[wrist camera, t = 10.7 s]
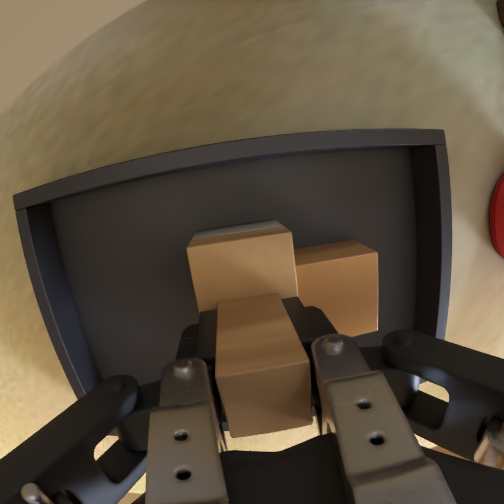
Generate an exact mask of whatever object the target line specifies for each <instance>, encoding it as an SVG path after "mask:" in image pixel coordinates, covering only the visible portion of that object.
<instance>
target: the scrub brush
mask: <svg viewBox="0 0 504 504" xmlns="http://www.w3.org/2000/svg"><path fill="white" fill-rule="evenodd" d="M186 250H187V255H188V260H189V266H190V271H191V276H192V281H193V286H194V290H195V295H196V300H197V305H198V309H199V314H200V312H201V311H207V310H214V309H217V333H216V356H215V380H216V384H217V387H218V391H219V395H220V399H221V403H222V406H223V410H224V414H225V417H226V421H227V425H228V428H229V432H230V435H231V437H232V438H237V437H244V436H252V435H258V434H265V433H271V432H277V431H282V430H287V429H293V428H297V427H302V426H307V425H311V424H312V423H313V411H312V389H311V371H310V360H309V358H308V356H307V354H306V352H305V350H304V347H303V345H302V343H301V341H300V339H299V337H298V335H297V333H296V330H295V328H294V326H293V324H292V322H291V320H290V318H289V316H288V313H287V311H286V309H285V307H284V305H283V303H282V301H281V299H284V298H290V297H296V296H298V287H297V276H296V267H295V257H294V248H293V239H292V232H291V231H289V230H288V229H287V228H286V227H284V226H283V225H282V224H281V223H279V222H278V221H277V220H272V221H265V222H259V223H252V224H245V225H239V226H232V227H226V228H219V229H213V230H207V231H200V232H196V233H195V234H194V236H193V237H192V239H191V241H190V243H189V245H188V246H187V249H186Z"/></svg>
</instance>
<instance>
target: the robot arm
mask: <svg viewBox="0 0 504 504" xmlns="http://www.w3.org/2000/svg"><path fill="white" fill-rule="evenodd" d="M281 301H282V303H283V305H284V307H285V309H286V311H287V313H288V316H289V318H290V320H291V322H292V324H293V326H294V328H295V330H296V333H297V335H298V337H299V339H300V341H301V343H302V345H303V347H304V350H305V352H306V354H307V356H308V358H309V360H310V371H311V389H312V398H313V400H314V413H315V418H316V424H317V429H318V435H319V436H316V437H314V438H312V439H309V440H307V441H305V442H302V443H300V444H297V445H295V446H292V447H290V448H287V449H285V450H282V451H278V452H258V451H239V450H232V451H228V447H227V442H226V437H225V433H224V428H223V425H222V413H224V410H223V406H222V403H221V399H220V395H219V391H218V387H217V384H216V380H215V356H216V333H217V309H214V310H207V311H201V312H200V317H199V323H198V324H193V325H189V326H188V327H187V328H186V329H185V330H184V331H183V332H182V335H181V340H180V343H179V347H178V351H177V355H176V359H175V361H172V362H171V363H169V364H167V365H166V366H165V367H164V369H163V370H162V376H161V379H160V380H158V381H155V382H152V383H149V384H145V385H141V386H139V385H138V382H137V380H136V379H135V378H134V377H133V376H130V375H115V376H112V377H109V378H107V379H105V380H103V381H102V382H101V383H99V384H98V385H97V386H95V387H94V388H93V389H92V390H90V391H89V392H88V393H86V394H85V395H84V396H83V397H81V398H80V399H79V400H77V401H76V402H75V403H74V404H72V405H71V406H70V407H68V408H67V409H66V410H64V411H63V412H62V413H61V414H59V415H58V416H57V417H55V418H54V419H53V420H51V421H50V422H49V423H48V424H46V425H45V426H44V427H42V428H41V429H40V430H38V431H37V432H36V433H35V434H33V435H32V436H31V437H29V438H28V439H27V440H25V441H24V442H23V443H21V444H20V445H19V446H18V447H16V448H15V449H14V450H12V451H11V452H10V453H8V454H7V455H6V456H4V457H3V458H2V459H0V504H117V503H118V502H119V501H120V500H121V499H122V498H123V497H124V496H125V495H126V493H127V492H128V491H129V490H130V489H131V488H132V487H133V486H134V485H135V484H136V482H137V481H138V480H139V479H140V478H141V477H142V476H143V475H144V473H145V472H146V492H145V493H143V494H142V495H141V496H140V497H139V498H138V499H136V500H135V501H134V502H133V503H132V504H504V359H502V358H499V357H495V356H492V355H489V354H486V353H482V352H479V351H476V350H473V349H470V348H466V347H463V346H460V345H457V344H454V343H451V342H448V341H445V340H441V339H438V338H435V337H432V336H429V335H426V334H423V333H420V332H417V331H413V330H407V329H402V330H395V331H392V332H390V333H388V334H386V335H385V336H384V338H383V341H382V346H377V347H358V345H357V343H356V341H355V340H354V339H353V338H352V337H350V336H348V335H344V334H339V333H338V332H337V330H336V329H335V327H334V326H333V325H332V323H331V322H329V319H328V318H327V317H326V315H325V314H324V312H323V311H322V310H321V309H319V308H317V307H315V306H313V305H312V306H307V307H304V305H303V304H302V302H301V301H300V299H299V297H298V296H296V297H290V298H284V299H281ZM420 378H422V379H425V380H427V381H429V382H432V383H434V384H437V385H439V386H442V387H443V388H445V389H446V390H447V392H448V394H449V403H448V402H445V401H443V400H441V399H438V398H436V397H434V396H431V395H429V394H427V393H424V392H422V391H420V390H418V388H419V383H420ZM113 429H114V430H115V432H116V434H117V436H118V438H119V439H118V440H117V441H116V442H115V443H114V444H113V445H112V446H111V447H110V448H109V449H108V450H107V451H106V452H105V453H104V454H103V455H102V456H100V457H99V458H98V459H97V460H95V459H94V449H95V447H96V445H97V444H98V443H99V442H100V441H101V440H103V439H104V438H105V437H106V436H107V435H108V434H109V433H110V432H111V431H112V430H113ZM414 434H416V435H418V436H420V437H422V438H424V439H426V440H428V441H430V442H432V443H434V444H436V445H438V446H440V447H442V448H445V449H447V450H449V451H451V452H453V453H455V454H458V455H460V456H462V457H464V458H466V459H468V460H471V461H468V460H465V459H461V458H458V457H454V456H451V455H448V454H444V453H441V452H438V451H435V450H432V449H429V448H426V447H423V446H420V445H419V443H418V441H417V439H416V437H415V435H414ZM472 461H473V462H472Z"/></svg>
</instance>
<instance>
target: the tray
mask: <svg viewBox="0 0 504 504" xmlns="http://www.w3.org/2000/svg"><path fill="white" fill-rule="evenodd" d="M13 201H14V207H15V211H16V218H17V223H18V229H19V234H20V238H21V243H22V247H23V252H24V256H25V260H26V264H27V268H28V271H29V275H30V279H31V282H32V286H33V289H34V292H35V296H36V299H37V302H38V305H39V308H40V311H41V314H42V317H43V320H44V323H45V325H46V328H47V331H48V333H49V336H50V339H51V341H52V344H53V346H54V349H55V351H56V354H57V356H58V358H59V361H60V363H61V365H62V367H63V370H64V372H65V374H66V376H67V378H68V381H69V383H70V385H71V387H72V389H73V391H74V393H75V395H76V397H77V399H78V400H79V399H80V398H81V397H83V396H84V395H85V394H86V393H88V392H89V391H90V390H92V389H93V388H94V387H95V386H97V385H98V384H99V383H101V382H102V381H103V380H105V379H107V378H109V377H112V376H115V375H130V376H133V377H134V378H135V379H136V380H137V382H138V385H139V386H141V385H145V384H149V383H152V382H155V381H158V380H160V379H161V376H162V370H163V369H164V367H165V366H166V365H167V364H169V363H171V362H172V361H175V359H176V355H177V351H178V347H179V343H180V340H181V335H182V332H183V331H184V330H185V329H186V328H187V327H188V326H189V325H193V324H198V323H199V317H200V314H199V309H198V305H197V300H196V295H195V290H194V286H193V281H192V276H191V271H190V266H189V260H188V255H187V250H186V249H187V246H188V245H189V243H190V241H191V239H192V237H193V236H194V234H195V233H196V232H200V231H207V230H213V229H219V228H226V227H232V226H239V225H245V224H252V223H259V222H265V221H272V220H277V221H278V222H279V223H281V224H282V225H283V226H284V227H286V228H287V229H288V230H289V231H291V232H292V239H293V248H294V249H296V248H303V247H309V246H315V245H322V244H328V243H335V242H341V241H347V240H355V241H357V242H359V243H361V244H363V245H365V246H366V247H368V248H370V249H372V250H374V251H376V252H377V253H378V330H377V331H373V332H370V333H366V334H362V335H357V336H353V337H352V338H353V339H354V340H355V341H356V343H357V345H358V347H377V346H382V341H383V338H384V336H385V335H386V334H388V333H390V332H392V331H395V330H402V329H407V330H413V331H417V332H420V333H423V334H426V335H429V336H432V337H435V338H438V339H441V340H444V339H445V332H446V324H447V316H448V306H449V295H450V282H451V263H452V208H451V189H450V176H449V165H448V156H447V148H446V141H445V134H444V130H439V129H354V130H334V131H318V132H305V133H294V134H284V135H274V136H265V137H257V138H249V139H242V140H235V141H228V142H221V143H215V144H209V145H203V146H197V147H191V148H186V149H180V150H175V151H170V152H165V153H160V154H156V155H151V156H146V157H142V158H138V159H133V160H129V161H125V162H121V163H117V164H113V165H109V166H105V167H101V168H97V169H94V170H90V171H87V172H83V173H80V174H76V175H73V176H69V177H66V178H63V179H59V180H56V181H53V182H50V183H47V184H44V185H41V186H38V187H35V188H32V189H29V190H26V191H23V192H21V193H18V194H15V195H13ZM426 381H427V380H425V379H422V378H420V383H419V384H421V383H423V382H426ZM312 411H313V416H315V413H314V400H313V398H312ZM222 425H223V428H224V431H229V428H228V425H227V421H226V417H225V414H224V413H222ZM108 435H110V436H117V434H116V432H115V430H114V429H113V430H112V431H111V432H110V433H109V434H108Z"/></svg>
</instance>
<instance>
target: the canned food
mask: <svg viewBox="0 0 504 504" xmlns="http://www.w3.org/2000/svg"><path fill="white" fill-rule="evenodd" d="M490 230H491V236H492V240H493V243H494V246H495V248H496V250H497V252H498V253H499V254H500V255H501V256H502V257H503V258H504V174H503V175H502V176H501V177H500V179H499V181H498V182H497V184H496V187H495V189H494V192H493V196H492V200H491V207H490Z"/></svg>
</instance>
